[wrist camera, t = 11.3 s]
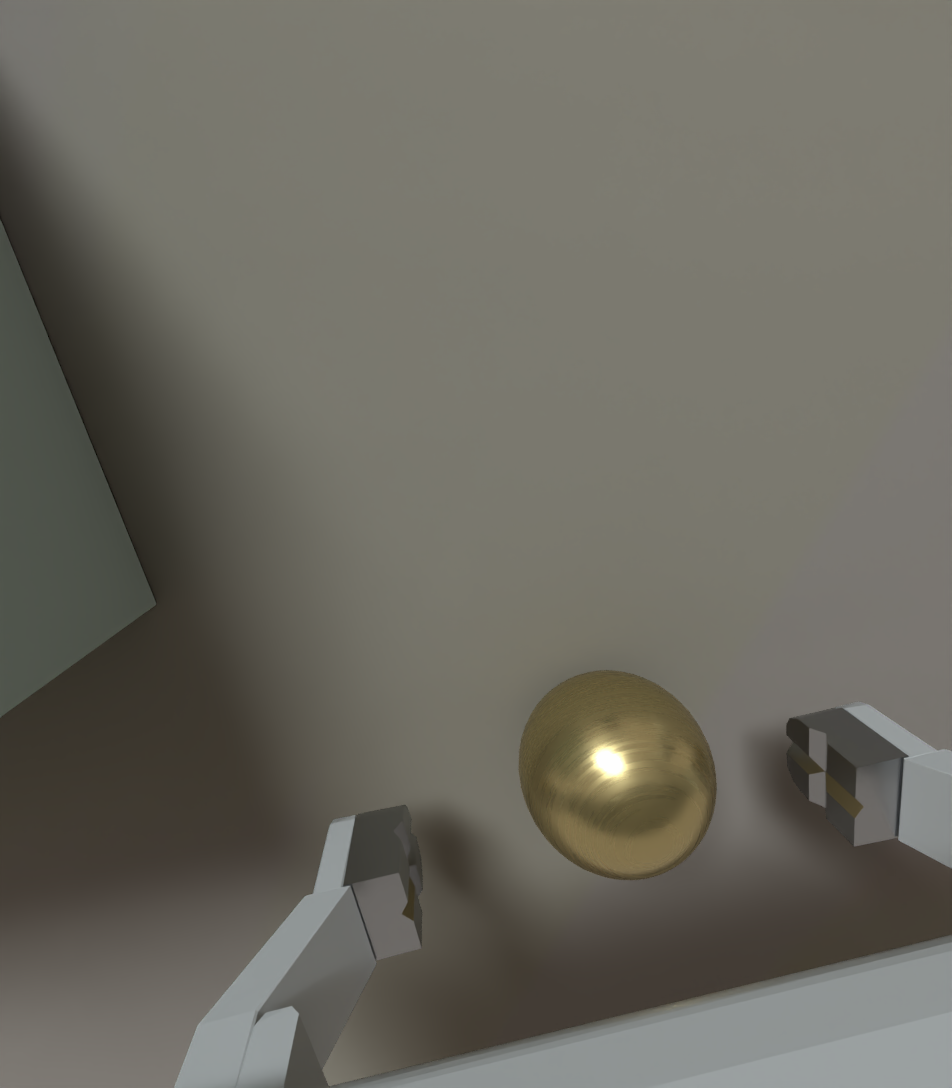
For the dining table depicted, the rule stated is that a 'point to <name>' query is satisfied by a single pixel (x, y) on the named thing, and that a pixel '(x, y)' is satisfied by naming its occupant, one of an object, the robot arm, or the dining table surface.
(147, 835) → the dining table surface
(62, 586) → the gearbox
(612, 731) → the bead
